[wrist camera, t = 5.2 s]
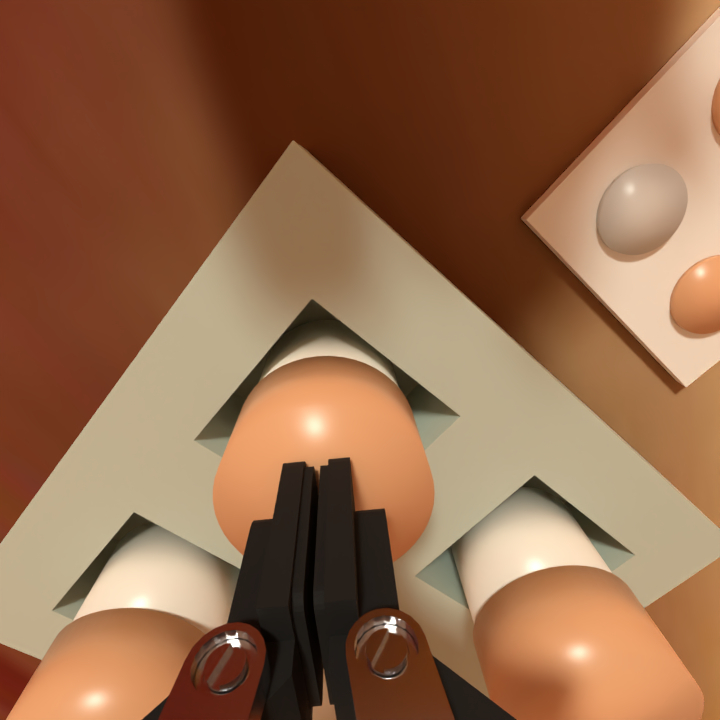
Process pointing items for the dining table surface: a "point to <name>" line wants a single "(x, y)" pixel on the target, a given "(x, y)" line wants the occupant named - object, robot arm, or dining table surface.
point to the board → (414, 377)
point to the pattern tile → (651, 211)
